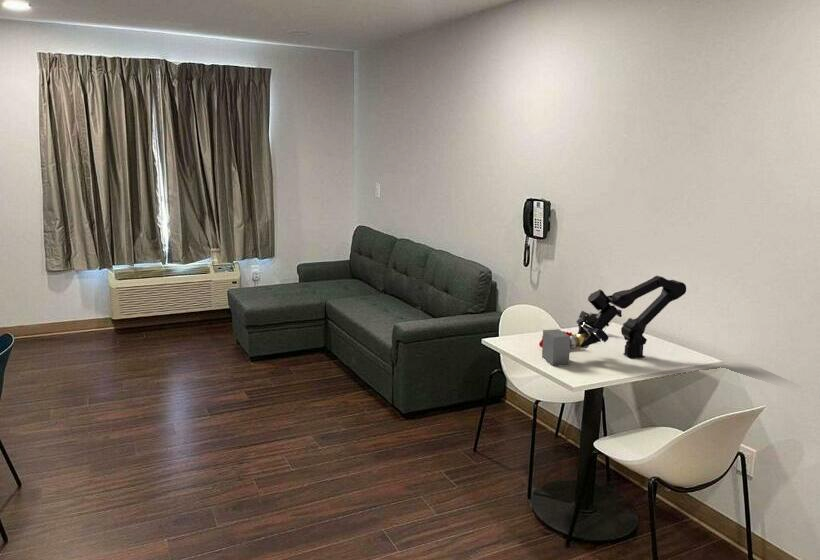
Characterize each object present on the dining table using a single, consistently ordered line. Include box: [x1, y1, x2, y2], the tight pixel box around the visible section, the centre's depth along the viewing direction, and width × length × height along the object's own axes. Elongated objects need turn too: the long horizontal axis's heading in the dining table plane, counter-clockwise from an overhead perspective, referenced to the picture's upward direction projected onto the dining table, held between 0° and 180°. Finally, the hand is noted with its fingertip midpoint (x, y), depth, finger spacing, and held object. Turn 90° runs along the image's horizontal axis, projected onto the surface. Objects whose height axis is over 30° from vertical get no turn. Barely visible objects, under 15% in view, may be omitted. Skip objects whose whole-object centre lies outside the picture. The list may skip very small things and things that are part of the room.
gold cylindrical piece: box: [570, 333, 590, 350], centre depth 262 cm, size 8×6×6 cm
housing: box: [541, 328, 571, 367], centre depth 261 cm, size 7×11×12 cm, turn 11°
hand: (577, 344), depth 262 cm, fingers closed on gold cylindrical piece, 6 cm apart
